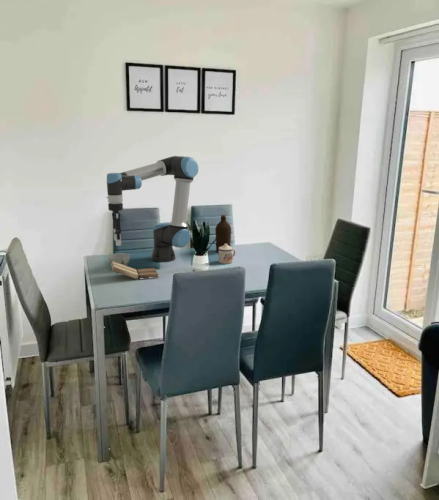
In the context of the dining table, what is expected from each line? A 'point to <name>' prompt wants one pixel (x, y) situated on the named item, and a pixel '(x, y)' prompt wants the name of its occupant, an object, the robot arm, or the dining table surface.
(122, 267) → the oak plank
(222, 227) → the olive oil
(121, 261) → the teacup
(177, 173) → the robot arm
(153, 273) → the walnut floor section
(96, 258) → the dining table surface
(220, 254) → the teacup with lid
